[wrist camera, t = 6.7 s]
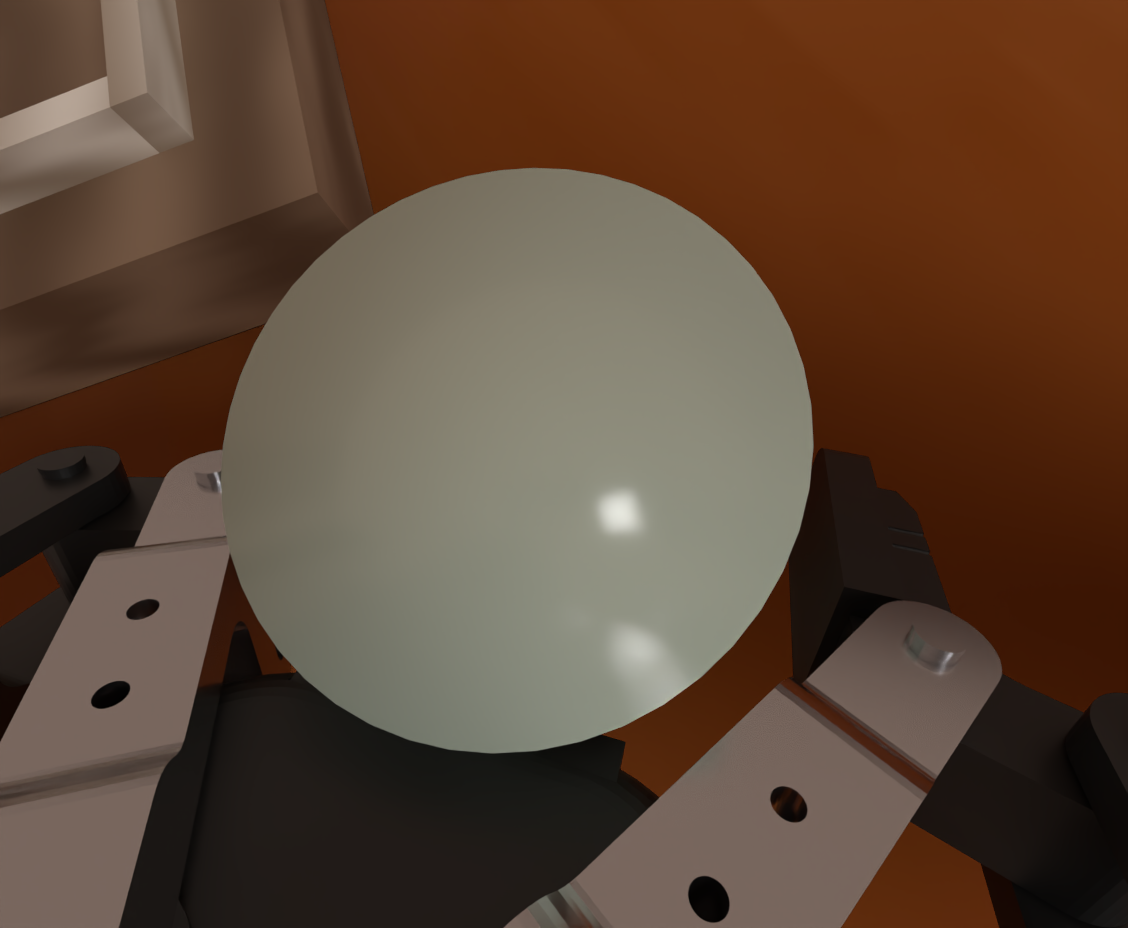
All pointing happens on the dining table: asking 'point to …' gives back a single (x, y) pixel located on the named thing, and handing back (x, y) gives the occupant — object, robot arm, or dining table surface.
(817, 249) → the dining table surface
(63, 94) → the display plinth
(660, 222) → the sage cylinder
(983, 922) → the dining table surface
